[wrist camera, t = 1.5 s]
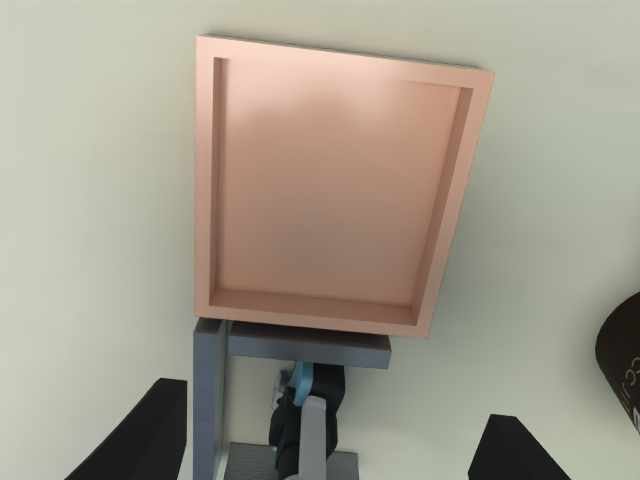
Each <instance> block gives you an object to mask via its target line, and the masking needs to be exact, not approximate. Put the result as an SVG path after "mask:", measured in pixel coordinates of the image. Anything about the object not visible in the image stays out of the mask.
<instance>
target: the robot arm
mask: <svg viewBox="0 0 640 480" xmlns="http://www.w3.org/2000/svg"><path fill="white" fill-rule="evenodd" d="M186 442H187V381H185V380H176V379H167V378H160V379H159V380H157V381H156V382H155V383H154V384H153V386H152V387H151V388H150V389H149V391H148V392H147V393H146V394H145V395H144V397H143V398H142V399H141V400H140V401H139V402H138V404H137V405H136V406H135V407H134V408H133V409H132V410H131V412H130V413H129V414H128V415H127V416H126V417H125V418H124V419H123V421H122V422H121V423H120V424H119V425H118V426H117V427H116V428H115V429H114V430H113V431H112V432H111V433H110V434H109V436H108V437H107V438H106V439H105V440H104V441H103V442H102V443H101V444H100V445H99V446H98V447H97V448H96V449H95V450H94V451H93V452H92V453H91V454H90V455H89V456H88V457H87V458H86V459H85V460H84V461H83V462H82V463H81V464H80V465H79V466H78V467H77V468H76V469H75V470H74V471H73V472H72V473H71V474H70V475H69V476H68V477H66V478H65V479H64V480H177V478H178V474H179V470H180V467H181V463H182V459H183V455H184V451H185V447H186ZM468 477H469V480H571V479H570V478H569V477H568V475H567V474H566V473H565V472H564V471H563V470H562V469H561V468H560V466H559V465H558V464H557V463H556V462H555V461H554V459H553V458H552V457H551V456H550V455H549V454H548V453H547V451H546V450H545V449H544V448H543V447H542V446H541V445H540V443H539V442H538V441H537V440H536V439H535V438H534V436H533V435H532V434H531V433H530V432H529V431H528V430H527V429H526V427H525V426H524V425H523V424H522V423H521V422H520V421H519V420H518V419H517V417H514V416H505V415H496V414H491V415H490V417H489V420H488V422H487V425H486V427H485V430H484V432H483V435H482V438H481V440H480V443H479V445H478V448H477V450H476V453H475V455H474V458H473V460H472V463H471V465H470V468H469V471H468Z"/></svg>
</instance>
